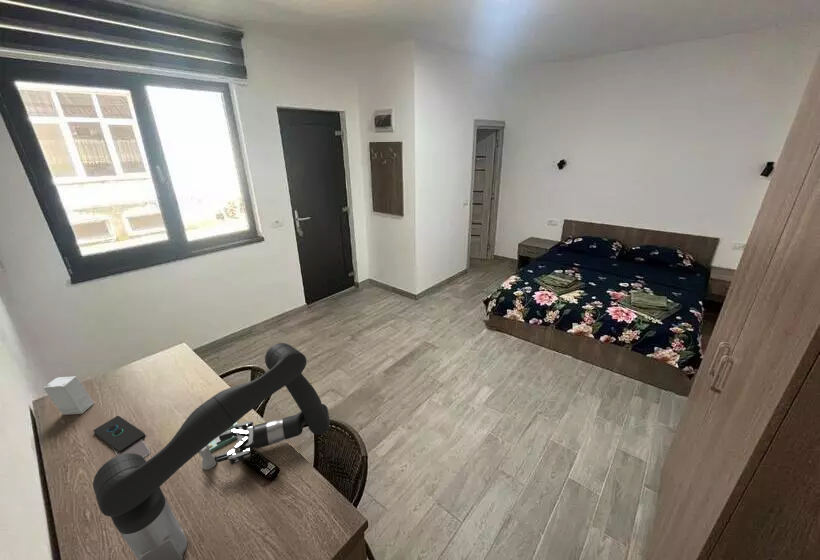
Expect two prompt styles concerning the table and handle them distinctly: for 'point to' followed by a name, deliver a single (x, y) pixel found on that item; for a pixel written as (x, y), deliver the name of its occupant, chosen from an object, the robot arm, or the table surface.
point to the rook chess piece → (207, 458)
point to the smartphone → (136, 449)
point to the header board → (218, 443)
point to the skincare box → (69, 395)
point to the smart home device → (119, 433)
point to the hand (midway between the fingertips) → (217, 448)
